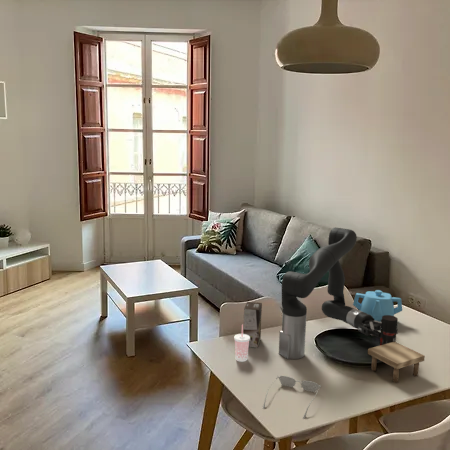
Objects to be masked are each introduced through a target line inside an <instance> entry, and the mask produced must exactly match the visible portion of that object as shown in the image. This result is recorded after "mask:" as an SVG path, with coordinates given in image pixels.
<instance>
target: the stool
mask: <svg viewBox="0 0 450 450" xmlns="http://www.w3.org/2000/svg"><path fill="white" fill-rule="evenodd" d="M367 355H369V356H371V366H370V367H371V369H370V370H371V371H374V372H376V371H377V366H378V365H377V363H378V360H379V361H380V362H383V363H385V364H386V365H388V366H390V367H391V368H393V373H392V383H395V384H397V383H399V375H400V369H402V368H406V367H408V366H411V365H413V370H412V376H414V377H418V376H419V369H420V368H419V367H420V363H421V362H425V355H424V354H423V353H420V352H417V351H416V350H414V349H411V348H409V347H407V346H405V345H403V344H402V343H399V342H397V341H396V342H391V343H388V344H384V345H380V344H379V345H377V346H374V347H369V348H368V349H367Z"/></svg>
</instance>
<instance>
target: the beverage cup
mask: <svg viewBox="0 0 450 450" xmlns="http://www.w3.org/2000/svg"><path fill="white" fill-rule="evenodd" d="M243 328H244V323H242V324H241V333H238V334H237V333H236V334H235V335H234V337H233V339H234V351H235V360H236V361H237V362H242V363H243V362H246V361H248V356H249V340H250V336H249V335H246V334H243Z"/></svg>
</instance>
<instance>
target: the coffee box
mask: <svg viewBox="0 0 450 450" xmlns="http://www.w3.org/2000/svg"><path fill="white" fill-rule="evenodd" d="M262 308H263V303H262V302H257V301H254V302H253V301H247V302H246V304H245V306H244V307H243V334H246V335H249V336H250V340H249V347H250V348H259V344H260V342H261V337H262V335H261V334H262V313H263V312H262V311H263V310H262ZM249 347H248V348H249Z"/></svg>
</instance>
